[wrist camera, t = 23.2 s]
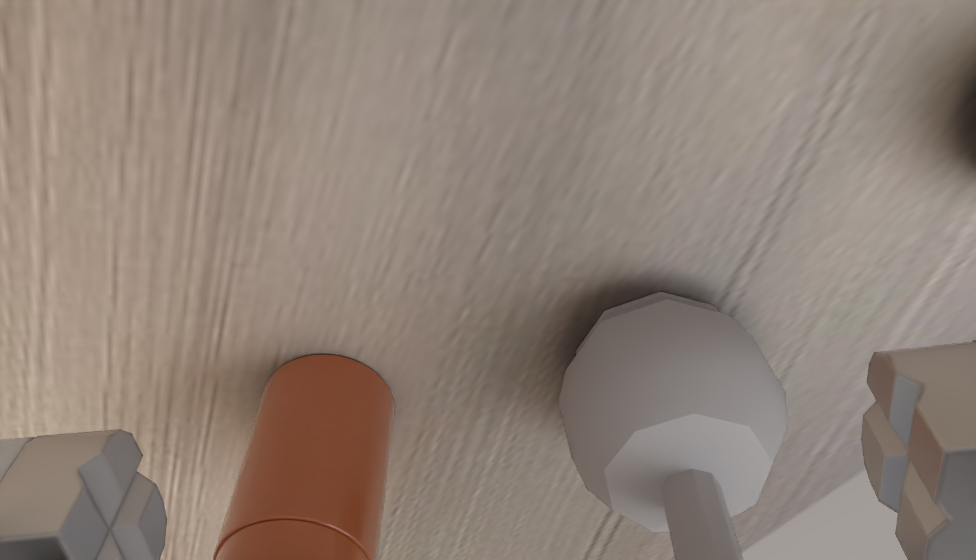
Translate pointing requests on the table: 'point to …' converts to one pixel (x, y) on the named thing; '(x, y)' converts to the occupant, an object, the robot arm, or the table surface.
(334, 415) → the jar
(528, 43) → the table surface
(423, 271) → the table surface
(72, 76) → the table surface
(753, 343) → the potion bottle
